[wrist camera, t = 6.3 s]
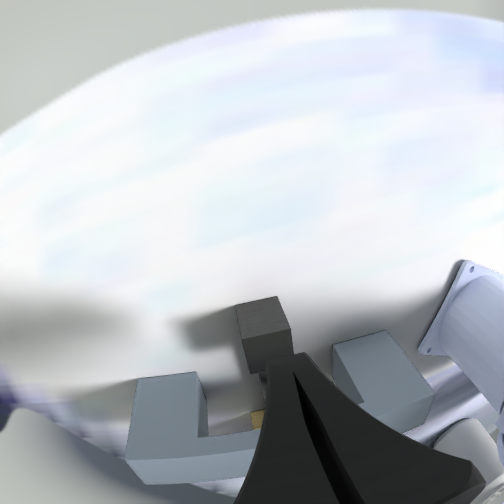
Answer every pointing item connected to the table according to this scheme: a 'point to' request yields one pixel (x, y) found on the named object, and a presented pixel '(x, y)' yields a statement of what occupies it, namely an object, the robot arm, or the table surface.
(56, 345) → the table surface
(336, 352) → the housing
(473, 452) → the can
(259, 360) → the plug
